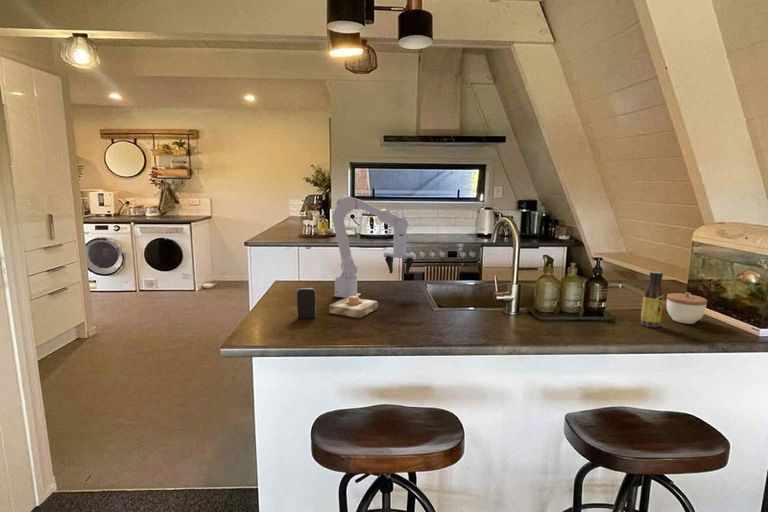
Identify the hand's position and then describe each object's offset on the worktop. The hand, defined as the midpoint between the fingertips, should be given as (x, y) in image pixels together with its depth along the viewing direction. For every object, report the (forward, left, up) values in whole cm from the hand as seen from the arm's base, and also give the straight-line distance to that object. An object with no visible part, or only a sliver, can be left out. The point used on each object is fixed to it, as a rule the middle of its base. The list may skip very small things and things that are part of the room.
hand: (399, 273), depth 200 cm
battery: (-16, -48, -10) cm, 52 cm away
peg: (-5, -32, -9) cm, 34 cm away
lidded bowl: (+111, +17, -10) cm, 113 cm away
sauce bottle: (+99, +4, -10) cm, 100 cm away
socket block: (-5, -32, -9) cm, 34 cm away
